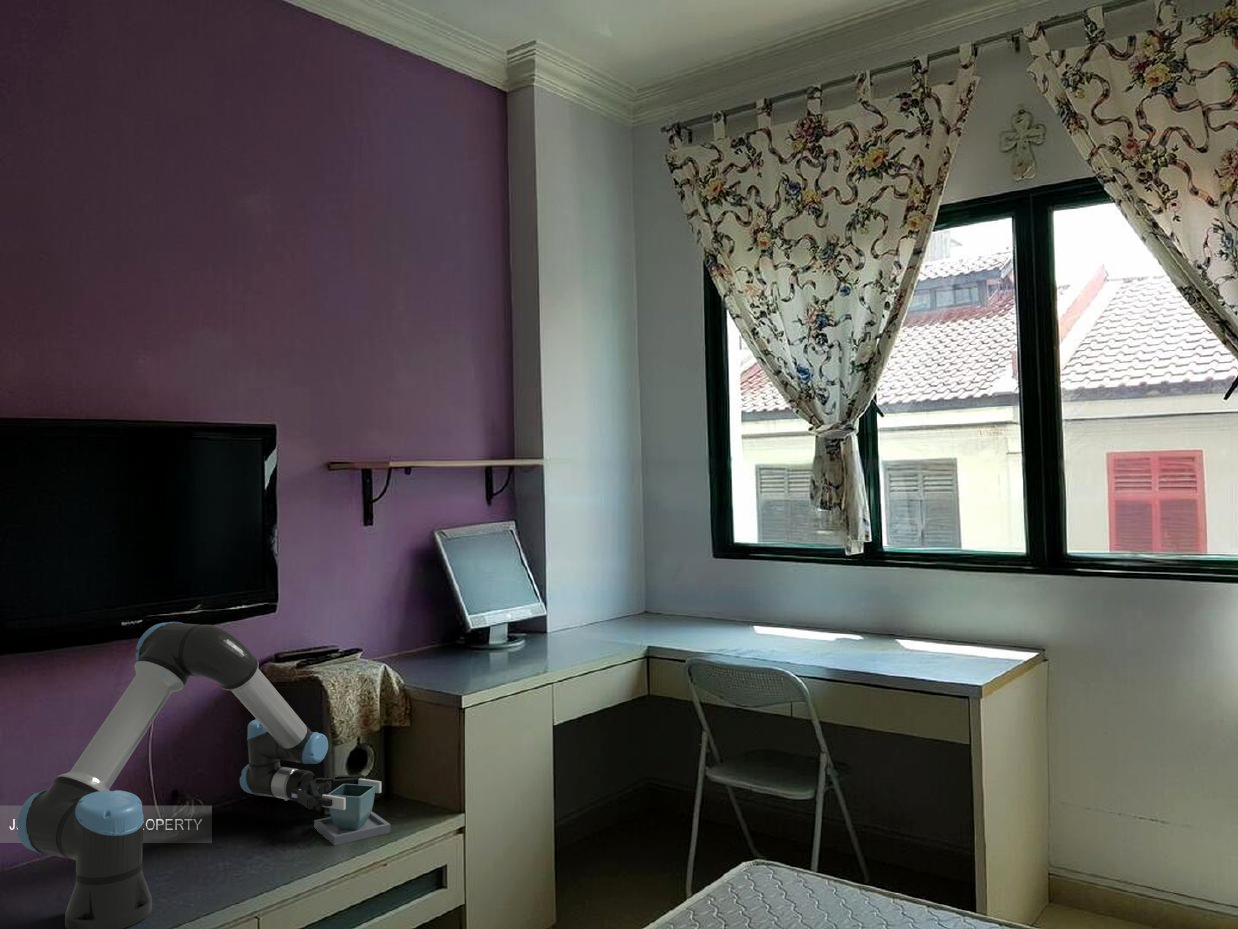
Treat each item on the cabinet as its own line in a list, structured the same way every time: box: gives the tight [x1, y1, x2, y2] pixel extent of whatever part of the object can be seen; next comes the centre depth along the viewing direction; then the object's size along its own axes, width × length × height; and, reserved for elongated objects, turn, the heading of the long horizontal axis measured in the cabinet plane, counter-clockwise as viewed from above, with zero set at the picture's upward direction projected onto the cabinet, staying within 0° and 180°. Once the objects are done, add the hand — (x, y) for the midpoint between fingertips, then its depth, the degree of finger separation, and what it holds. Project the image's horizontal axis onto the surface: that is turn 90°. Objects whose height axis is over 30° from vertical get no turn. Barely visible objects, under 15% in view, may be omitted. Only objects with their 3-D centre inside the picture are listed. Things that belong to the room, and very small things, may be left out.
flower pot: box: [327, 784, 376, 830], centre depth 237 cm, size 9×9×9 cm
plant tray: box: [313, 810, 392, 846], centre depth 237 cm, size 14×14×2 cm
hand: (363, 795), depth 236 cm, fingers open, 13 cm apart
